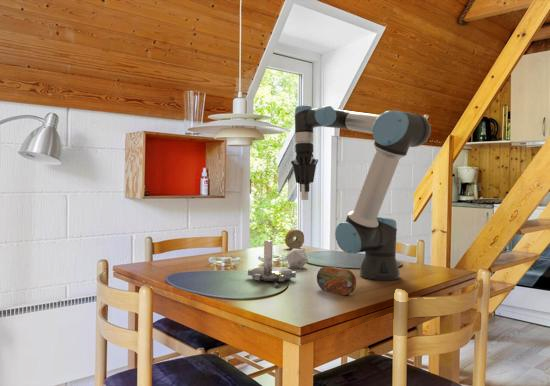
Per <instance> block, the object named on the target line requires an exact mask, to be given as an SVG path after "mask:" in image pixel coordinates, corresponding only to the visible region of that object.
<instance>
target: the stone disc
mask: <svg viewBox="0 0 550 386" xmlns="http://www.w3.org/2000/svg"><path fill="white" fill-rule="evenodd" d="M284 238H285V239H284V242H285V245H286V246H287V247H288V248H289V249H291V250H292V249H293V248H295V249H301V247H302V246H303V245H304V242H305V234H304V233H303V231H301V230H300V229H290V230H288V231H287V233H286V234H285V237H284ZM294 238H295V240H294Z"/></svg>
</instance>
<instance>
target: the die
mask: <svg viewBox="0 0 550 386" xmlns="http://www.w3.org/2000/svg"><path fill="white" fill-rule="evenodd" d="M306 253H307V252H306V251H305V249H304V248H298V249H295V248H293V249H292V248H291V250H290V251H289V252H288V253H287V254H286V256H285V258H286V260H287V264H288V267H289V269H290V268H292V269H300V270H301V269H302V268H304V266H305V265H306V264H307V263H308V262H309V259H308V257H307V254H306Z"/></svg>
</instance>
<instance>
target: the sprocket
mask: <svg viewBox="0 0 550 386" xmlns="http://www.w3.org/2000/svg"><path fill="white" fill-rule="evenodd" d="M273 244H274V243H273V240H267V239H266V240H264V241H263V266H260V267H256V268H251V269H249V268H248V270H247V276H249V277H250V276H251V278H253V279H254V280H255V281H265V280H266V281H265V282H271V281H274V282H284V281H286V280H287V281H288V280H290V279H294V278H297V271H293V270H292V269H290V268H289V267H281V266H273Z"/></svg>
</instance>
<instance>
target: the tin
mask: <svg viewBox="0 0 550 386" xmlns="http://www.w3.org/2000/svg"><path fill="white" fill-rule="evenodd" d="M316 282H317V285H318V287H319V288H320V289H321V291H324V292H327V293H331V294H335V295H339V296H347V295H350V294H352V293H353V292H354V291H355V290H356V288H357V279H356V276H355V274H354V273H353V272H352V271H351V270H349V269H346V268H339V267H334V266H322V267H321V268H319V270H318V271H317V274H316Z"/></svg>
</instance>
